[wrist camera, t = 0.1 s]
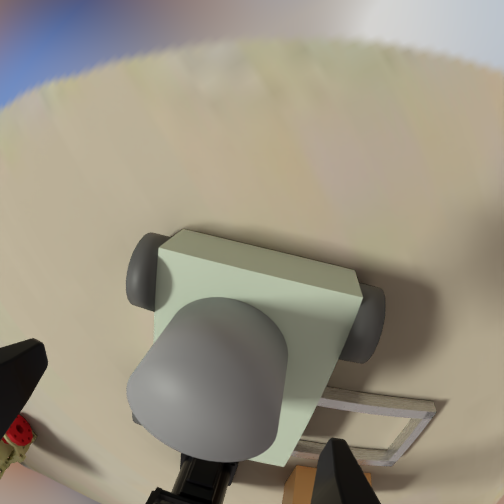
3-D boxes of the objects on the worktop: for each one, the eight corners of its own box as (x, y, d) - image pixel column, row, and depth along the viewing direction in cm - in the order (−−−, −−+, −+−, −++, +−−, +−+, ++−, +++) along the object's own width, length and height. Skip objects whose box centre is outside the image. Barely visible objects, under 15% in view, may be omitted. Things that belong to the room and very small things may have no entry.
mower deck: (304, 437, 27) (295, 524, 18) (154, 397, 29) (111, 472, 19) (376, 275, 21) (414, 370, 12) (162, 223, 22) (74, 282, 13)
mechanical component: (59, 413, 46) (23, 482, 27) (15, 438, 45) (-20, 496, 25) (32, 382, 45) (-16, 444, 25) (-9, 411, 43) (-51, 464, 24)
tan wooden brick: (355, 490, 30) (355, 529, 25) (284, 483, 31) (279, 523, 26) (372, 472, 29) (375, 514, 23) (296, 464, 29) (291, 508, 24)
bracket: (390, 455, 27) (391, 466, 26) (284, 442, 28) (282, 454, 27) (432, 400, 24) (436, 412, 22) (311, 383, 25) (311, 395, 23)
